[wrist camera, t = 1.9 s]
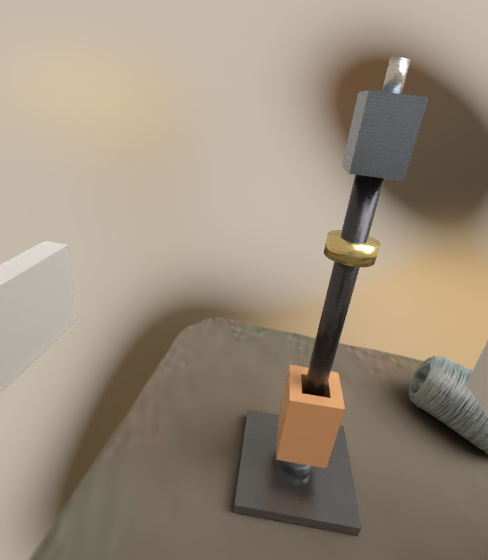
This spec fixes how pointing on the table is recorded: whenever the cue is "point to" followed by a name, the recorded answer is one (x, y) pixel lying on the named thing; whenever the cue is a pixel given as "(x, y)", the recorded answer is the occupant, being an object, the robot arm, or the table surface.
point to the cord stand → (334, 321)
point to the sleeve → (308, 420)
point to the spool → (450, 399)
